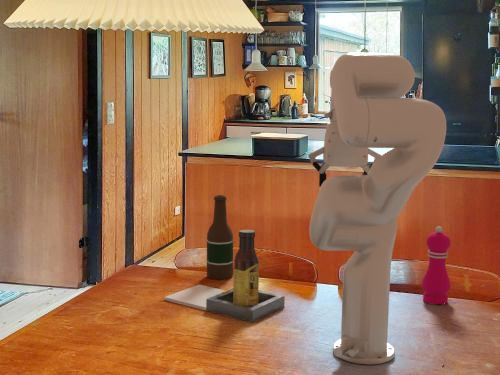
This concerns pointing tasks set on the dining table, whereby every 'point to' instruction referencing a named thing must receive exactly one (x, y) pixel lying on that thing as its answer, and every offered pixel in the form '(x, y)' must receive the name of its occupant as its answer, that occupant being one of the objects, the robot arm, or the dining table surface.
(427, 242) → the pepper mill
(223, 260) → the beer bottle
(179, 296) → the plate
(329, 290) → the dining table surface
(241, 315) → the collar
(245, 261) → the sauce bottle
